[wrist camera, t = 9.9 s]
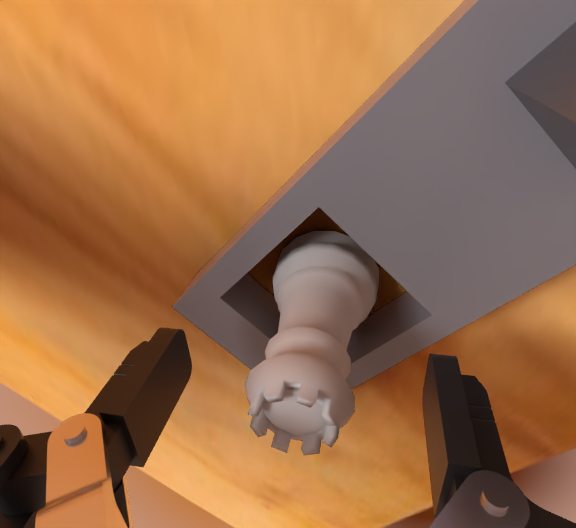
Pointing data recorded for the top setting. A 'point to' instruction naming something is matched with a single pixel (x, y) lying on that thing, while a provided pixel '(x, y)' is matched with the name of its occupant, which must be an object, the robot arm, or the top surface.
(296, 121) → the top surface
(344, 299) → the rook chess piece
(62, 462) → the robot arm
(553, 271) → the grey holder tray
